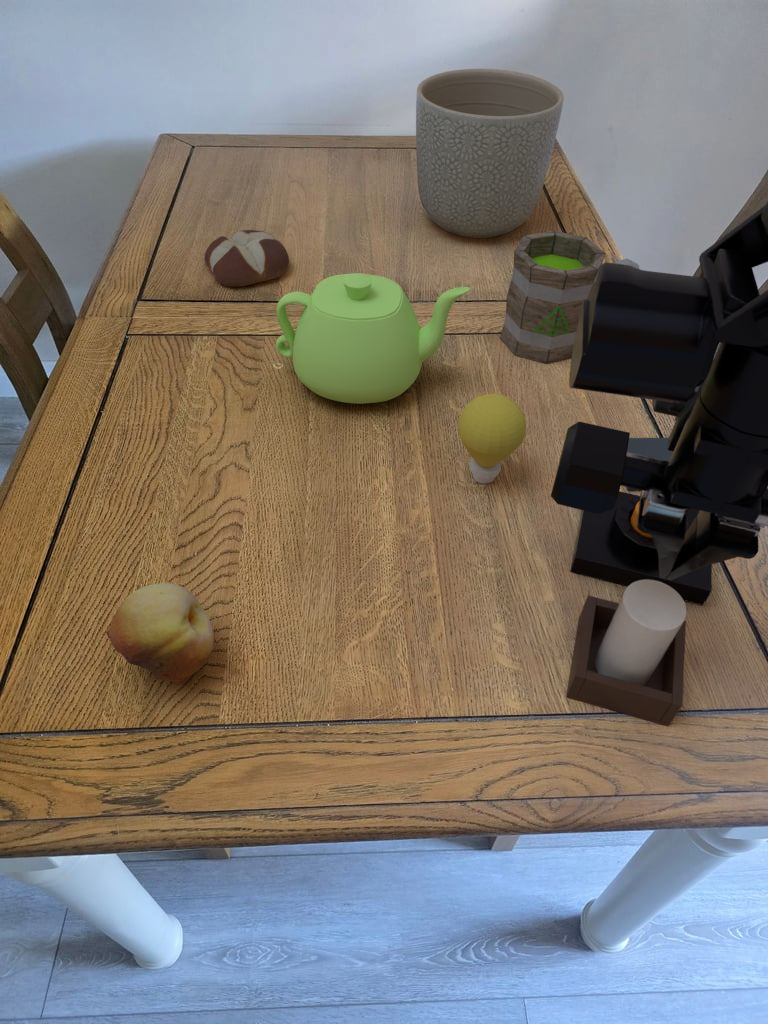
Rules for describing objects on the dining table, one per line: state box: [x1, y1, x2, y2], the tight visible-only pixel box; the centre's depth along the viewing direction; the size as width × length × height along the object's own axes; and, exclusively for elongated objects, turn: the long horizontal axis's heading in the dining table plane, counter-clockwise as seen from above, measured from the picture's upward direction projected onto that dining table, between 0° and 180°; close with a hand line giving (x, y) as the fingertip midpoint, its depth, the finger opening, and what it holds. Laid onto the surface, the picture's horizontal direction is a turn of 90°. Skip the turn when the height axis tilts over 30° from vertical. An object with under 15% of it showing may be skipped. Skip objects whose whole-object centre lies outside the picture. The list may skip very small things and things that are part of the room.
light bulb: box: [457, 393, 527, 485], centre depth 71 cm, size 7×7×10 cm
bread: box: [204, 229, 290, 288], centre depth 101 cm, size 11×11×5 cm
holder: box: [565, 595, 687, 727], centre depth 58 cm, size 8×8×4 cm
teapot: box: [275, 272, 470, 405], centre depth 81 cm, size 22×15×13 cm
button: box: [631, 501, 652, 538], centre depth 65 cm, size 4×4×2 cm
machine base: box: [570, 490, 713, 606], centre depth 67 cm, size 12×10×4 cm
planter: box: [415, 68, 565, 239], centre depth 107 cm, size 21×21×19 cm
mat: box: [625, 437, 673, 492], centre depth 76 cm, size 8×8×1 cm
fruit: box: [106, 582, 215, 683], centre depth 56 cm, size 8×8×8 cm
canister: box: [595, 580, 688, 686], centre depth 56 cm, size 5×5×9 cm
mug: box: [499, 230, 640, 365], centre depth 88 cm, size 16×11×12 cm
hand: (665, 574), depth 51 cm, fingers closed
